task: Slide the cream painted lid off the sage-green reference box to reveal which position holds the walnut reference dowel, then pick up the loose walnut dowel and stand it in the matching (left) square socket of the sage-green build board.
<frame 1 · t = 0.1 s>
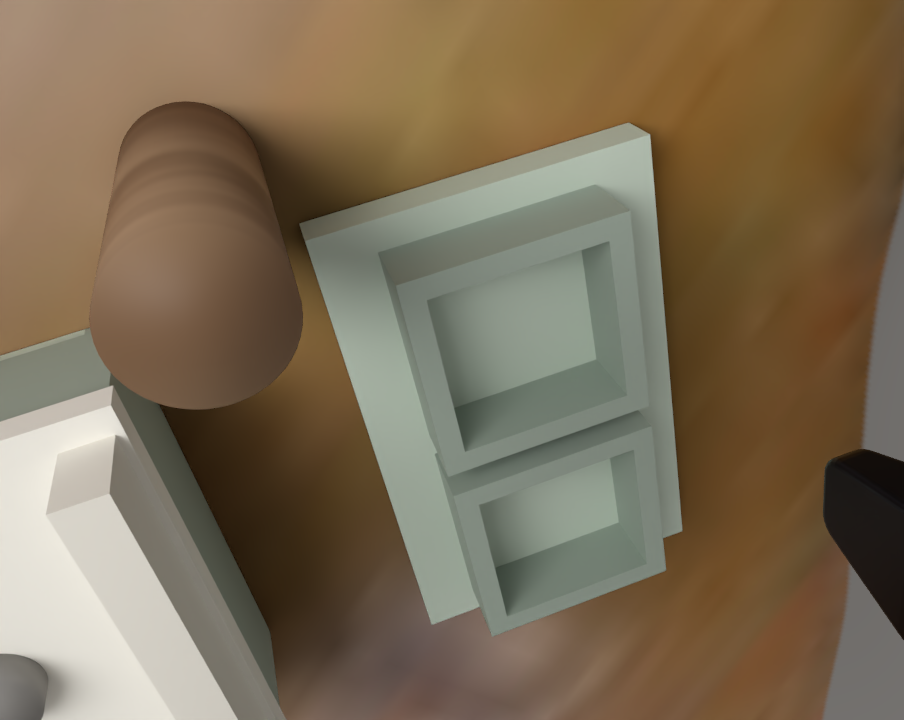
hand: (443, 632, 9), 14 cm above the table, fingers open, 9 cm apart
reference box: (64, 543, 24), on the table
dowel: (191, 171, 20), on the table
build board: (513, 390, 26), on the table
cover: (40, 689, 20), point 5 cm above the table, slide at 0.0 cm
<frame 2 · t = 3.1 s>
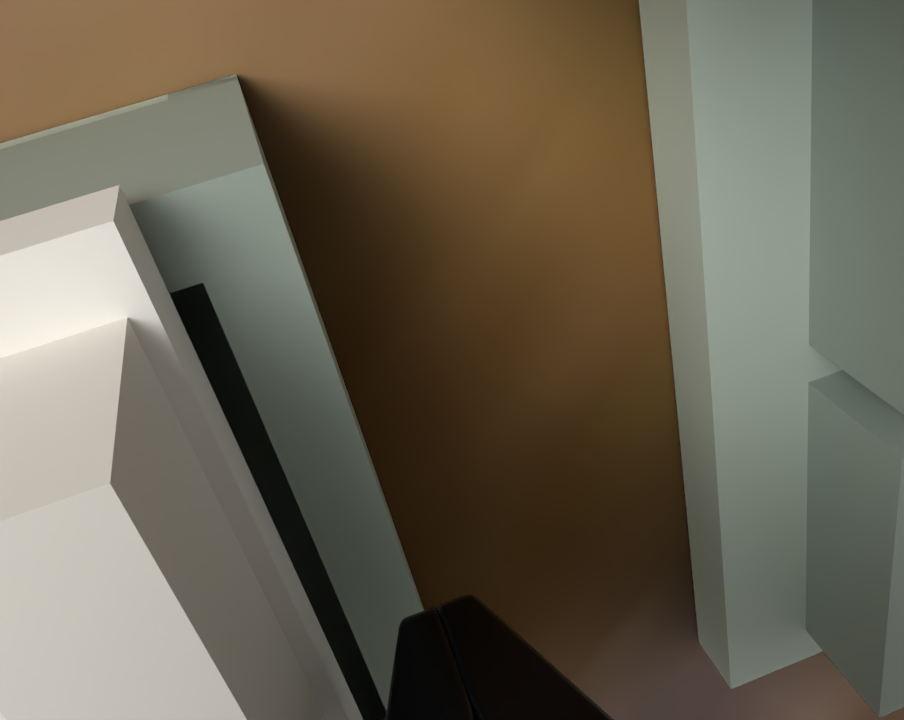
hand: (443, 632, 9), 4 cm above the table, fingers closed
reference box: (114, 559, 13), on the table
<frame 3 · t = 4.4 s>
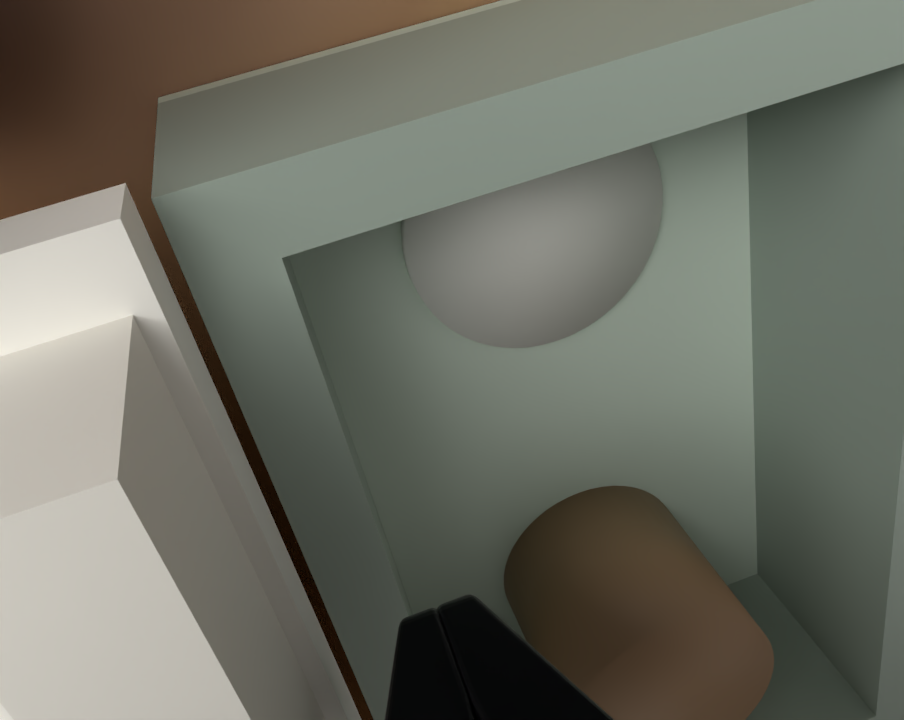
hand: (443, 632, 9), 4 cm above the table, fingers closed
reference box: (558, 403, 13), on the table
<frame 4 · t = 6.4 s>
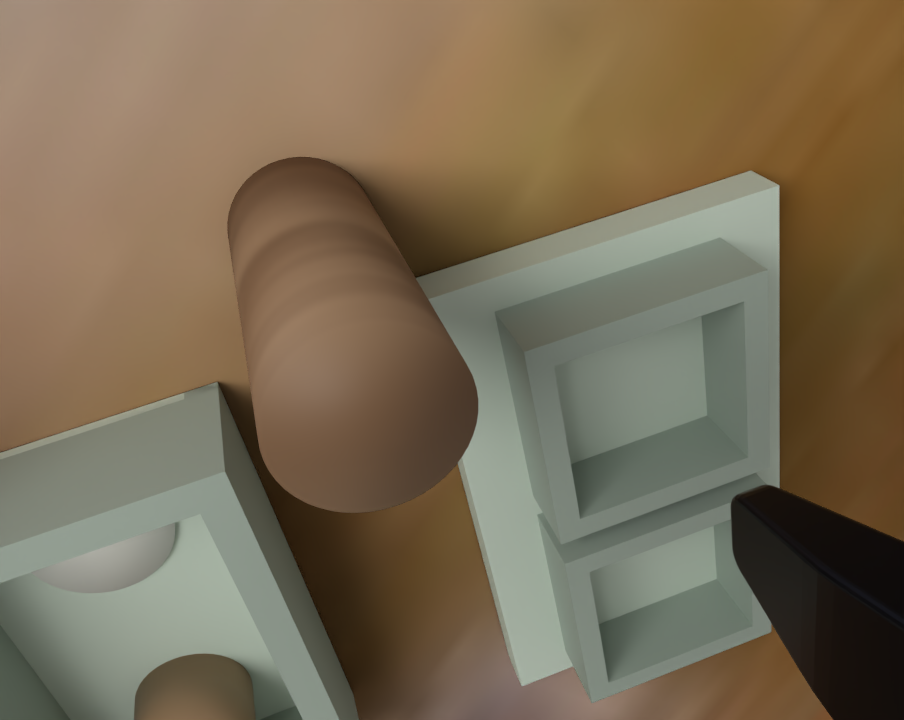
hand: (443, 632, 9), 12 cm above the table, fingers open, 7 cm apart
reference box: (150, 611, 23), on the table
dowel: (302, 228, 19), on the table
build board: (614, 445, 25), on the table
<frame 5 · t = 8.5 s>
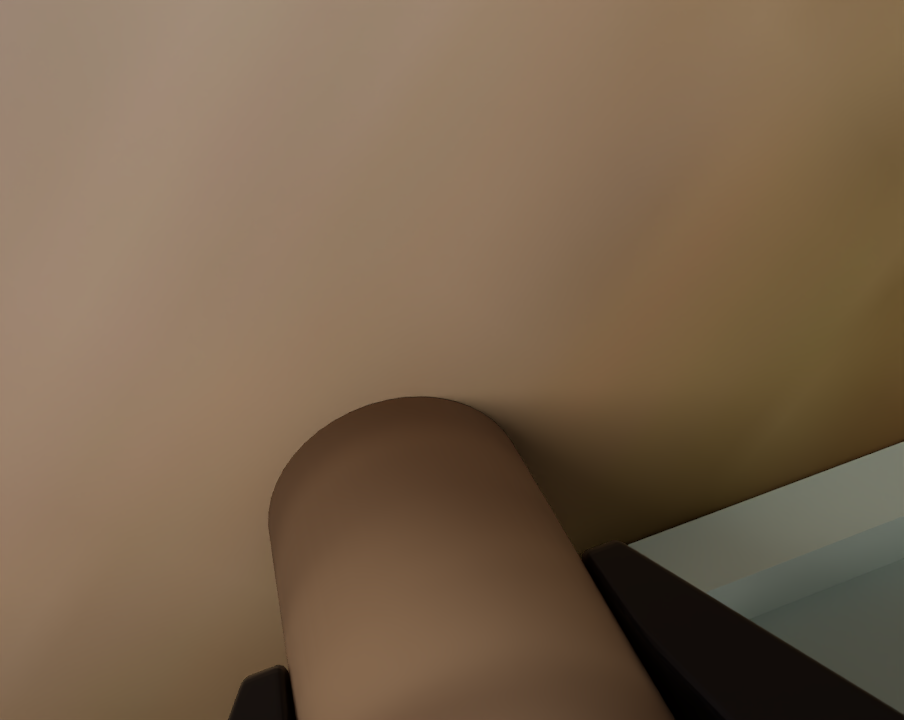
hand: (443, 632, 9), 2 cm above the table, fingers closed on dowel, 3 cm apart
dowel: (400, 508, 11), on the table, touching gripper
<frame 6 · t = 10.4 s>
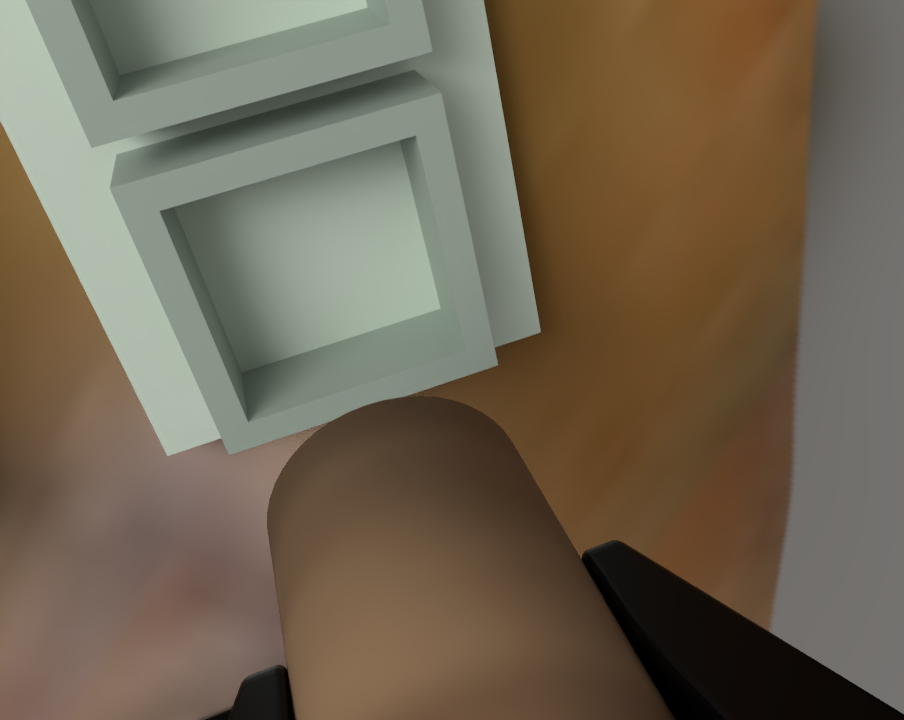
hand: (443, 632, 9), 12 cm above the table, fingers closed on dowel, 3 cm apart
dowel: (399, 508, 11), point 10 cm above the table, touching gripper
build board: (257, 79, 17), on the table
when the fingers open (4 cm above the table, at t = 12.5 s): dowel stays where it is, resting on build board.
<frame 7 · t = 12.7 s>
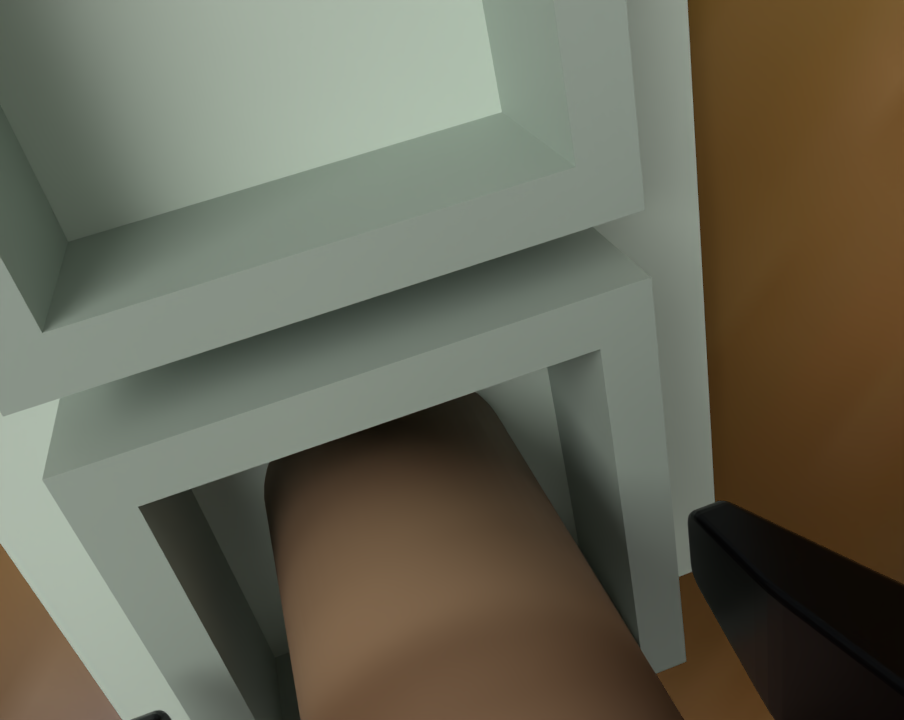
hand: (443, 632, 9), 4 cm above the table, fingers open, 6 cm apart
dowel: (390, 480, 11), point 1 cm above the table, touching build board
build board: (304, 219, 10), on the table
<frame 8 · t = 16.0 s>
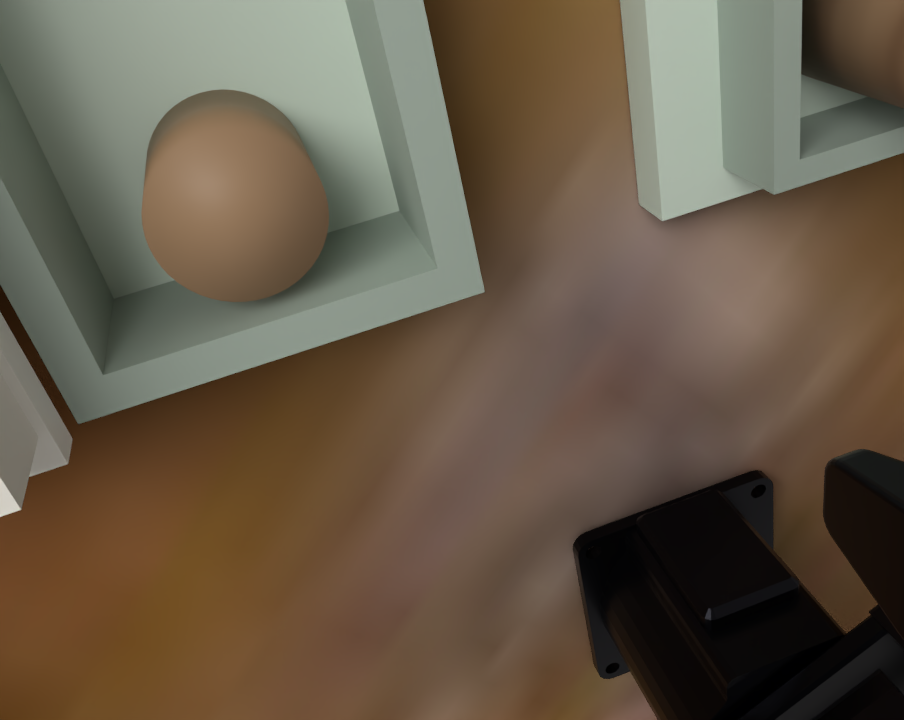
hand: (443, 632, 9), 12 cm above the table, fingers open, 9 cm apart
reference box: (168, 2, 16), on the table
dowel: (839, 1, 18), point 1 cm above the table, touching build board
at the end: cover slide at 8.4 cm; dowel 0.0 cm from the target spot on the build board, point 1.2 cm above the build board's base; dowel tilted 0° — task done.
